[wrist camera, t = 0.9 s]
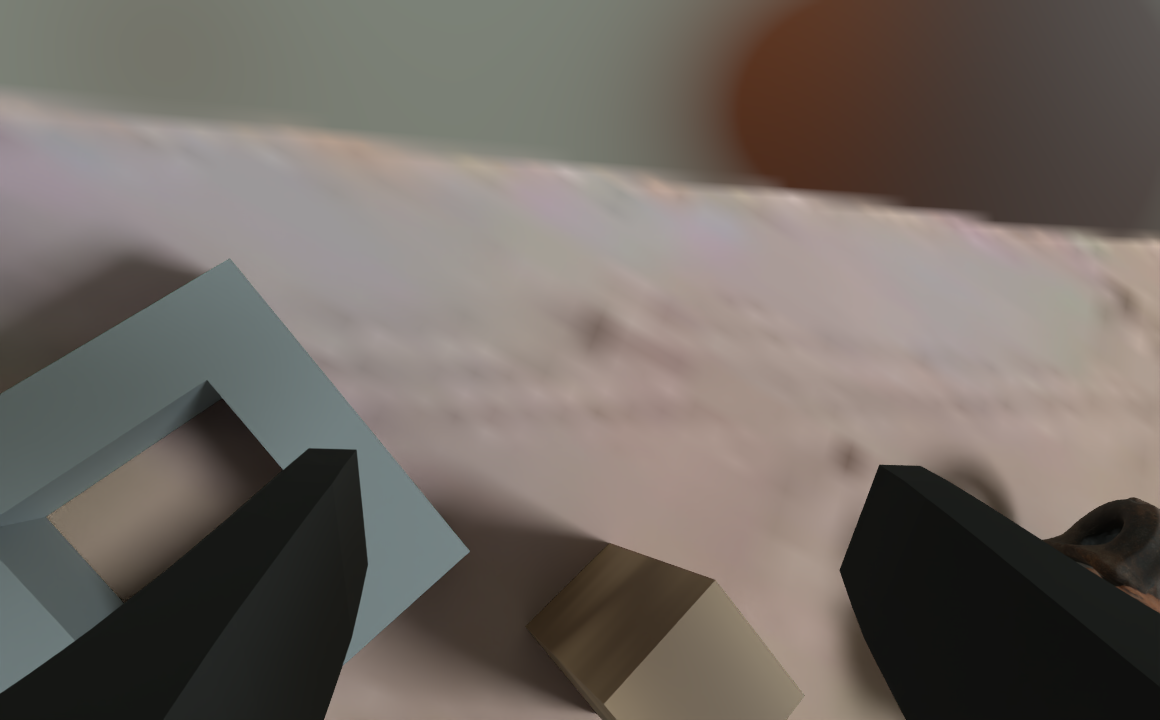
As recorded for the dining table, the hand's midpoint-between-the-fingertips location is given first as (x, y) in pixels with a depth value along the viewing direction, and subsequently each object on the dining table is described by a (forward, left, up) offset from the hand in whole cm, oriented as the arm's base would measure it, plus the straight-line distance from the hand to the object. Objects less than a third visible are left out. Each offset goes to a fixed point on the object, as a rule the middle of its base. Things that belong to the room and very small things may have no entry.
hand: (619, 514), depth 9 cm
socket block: (-6, +4, -13) cm, 15 cm away
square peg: (+1, -7, -13) cm, 15 cm away
